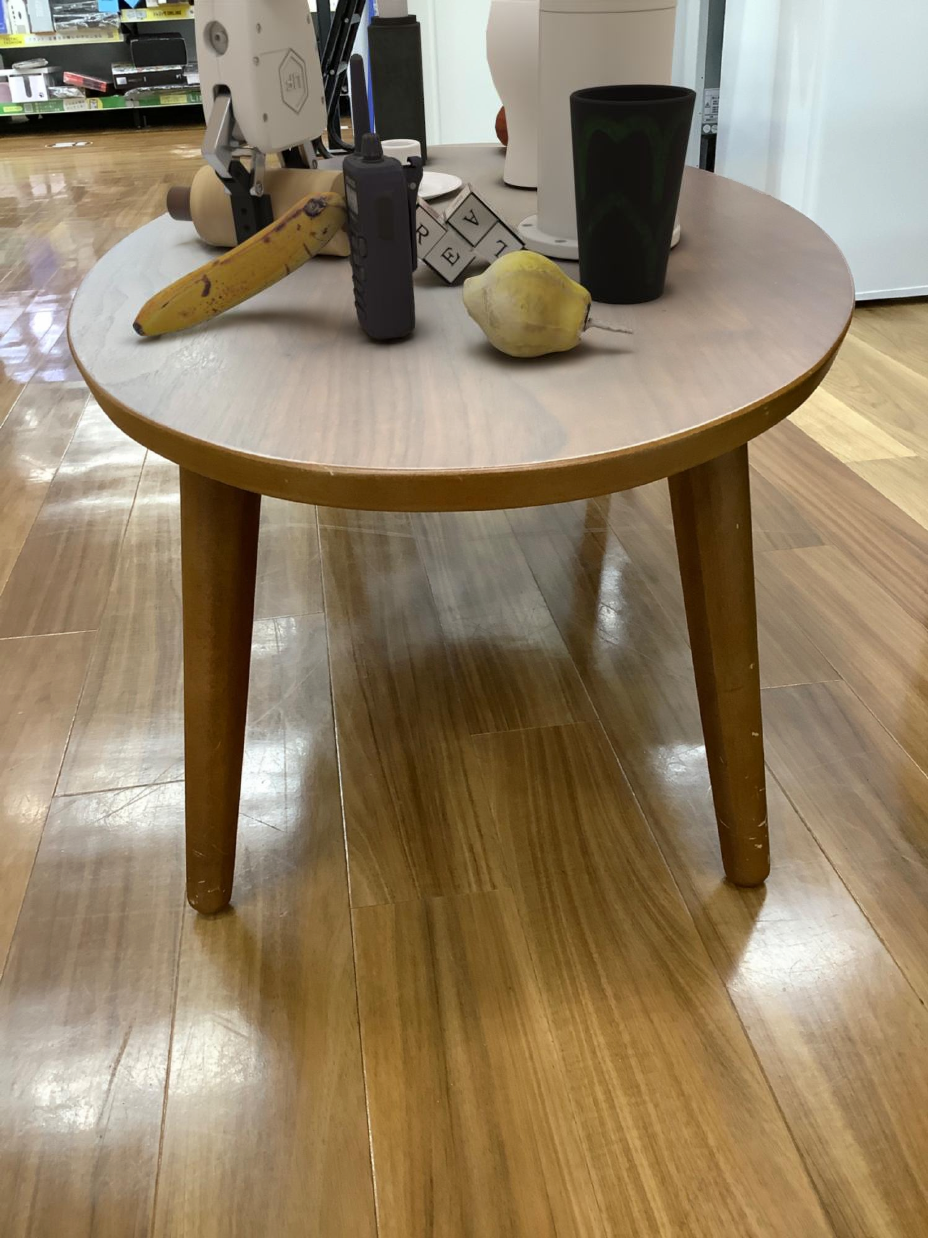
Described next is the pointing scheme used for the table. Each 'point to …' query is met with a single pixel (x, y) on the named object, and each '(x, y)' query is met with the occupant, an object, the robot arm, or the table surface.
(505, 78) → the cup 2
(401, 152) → the candle holder
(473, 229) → the building blocks
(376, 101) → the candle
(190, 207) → the rolling pin
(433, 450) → the table surface
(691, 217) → the table surface
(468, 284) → the fruit
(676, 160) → the cup
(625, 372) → the table surface
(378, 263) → the two-way radio
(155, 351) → the table surface
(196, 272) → the fruit
